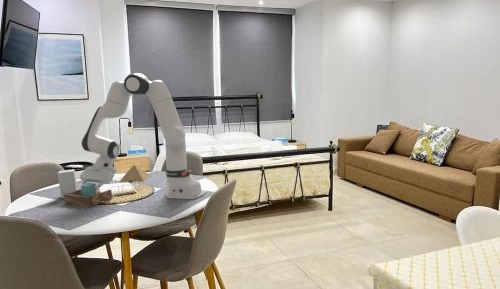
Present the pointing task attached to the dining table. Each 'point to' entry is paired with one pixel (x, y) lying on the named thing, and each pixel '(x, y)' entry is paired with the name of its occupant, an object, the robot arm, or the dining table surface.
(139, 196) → the dining table surface
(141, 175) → the model pyramid
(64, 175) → the skincare box
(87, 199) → the walnut crate
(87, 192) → the teal block
